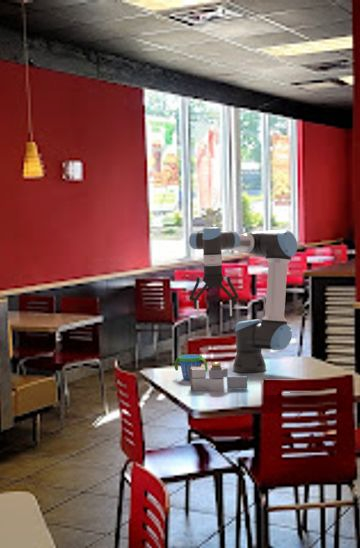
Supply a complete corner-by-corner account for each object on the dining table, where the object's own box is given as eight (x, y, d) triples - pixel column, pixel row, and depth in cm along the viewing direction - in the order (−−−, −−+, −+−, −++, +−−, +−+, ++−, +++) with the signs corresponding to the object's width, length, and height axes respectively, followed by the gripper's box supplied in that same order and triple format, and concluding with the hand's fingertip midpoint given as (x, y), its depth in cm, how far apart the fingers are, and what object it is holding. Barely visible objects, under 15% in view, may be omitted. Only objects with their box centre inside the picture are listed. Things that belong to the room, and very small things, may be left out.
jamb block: (191, 387, 350) (190, 366, 349) (205, 387, 349) (205, 366, 349) (190, 389, 345) (190, 369, 344) (205, 389, 345) (204, 368, 344)
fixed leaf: (193, 388, 347) (192, 367, 347) (223, 388, 346) (223, 367, 346) (192, 391, 342) (191, 370, 341) (223, 391, 341) (222, 369, 340)
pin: (212, 388, 346) (211, 362, 345) (221, 388, 345) (220, 362, 345) (212, 390, 342) (211, 363, 341) (221, 390, 342) (220, 363, 341)
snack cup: (170, 379, 369) (169, 356, 368) (183, 375, 377) (182, 353, 377) (199, 382, 360) (198, 359, 359) (212, 378, 368) (211, 355, 368)
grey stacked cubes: (209, 390, 341) (208, 370, 340) (209, 387, 347) (209, 367, 346) (247, 389, 340) (246, 369, 339) (246, 386, 346) (246, 366, 345)
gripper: (181, 266, 337) (183, 318, 339) (243, 264, 335) (244, 316, 337) (183, 265, 345) (185, 315, 346) (243, 263, 343) (244, 314, 344)
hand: (214, 316), depth 342 cm, fingers open, 13 cm apart
